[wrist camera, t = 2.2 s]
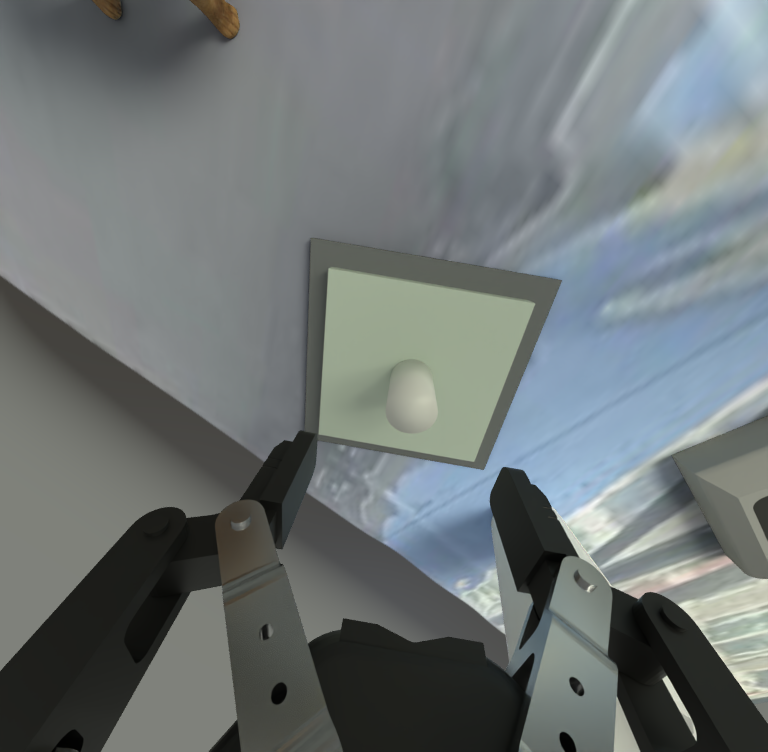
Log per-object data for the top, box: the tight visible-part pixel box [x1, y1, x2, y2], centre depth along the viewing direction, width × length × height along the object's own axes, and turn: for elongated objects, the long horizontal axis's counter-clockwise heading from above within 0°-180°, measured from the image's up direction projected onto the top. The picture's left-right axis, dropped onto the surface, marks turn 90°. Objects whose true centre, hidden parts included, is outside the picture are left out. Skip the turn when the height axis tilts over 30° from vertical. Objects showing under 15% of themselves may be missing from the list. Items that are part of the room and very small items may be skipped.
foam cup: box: [491, 506, 697, 752], centre depth 22 cm, size 10×9×13 cm
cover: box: [319, 267, 535, 462], centre depth 19 cm, size 13×13×6 cm
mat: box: [305, 238, 562, 470], centre depth 21 cm, size 16×16×1 cm
